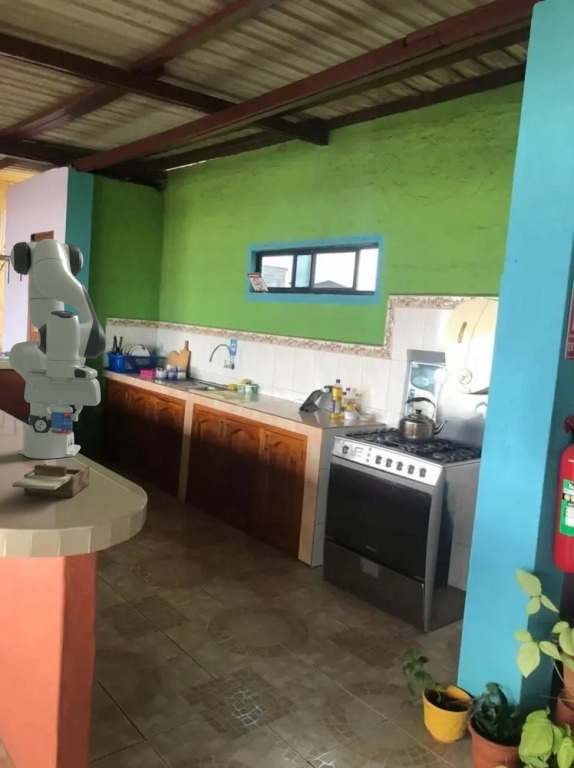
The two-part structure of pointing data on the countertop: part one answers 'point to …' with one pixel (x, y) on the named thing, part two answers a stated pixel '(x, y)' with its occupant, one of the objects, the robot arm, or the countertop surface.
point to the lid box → (64, 485)
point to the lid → (44, 477)
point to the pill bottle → (61, 419)
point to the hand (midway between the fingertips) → (62, 420)
